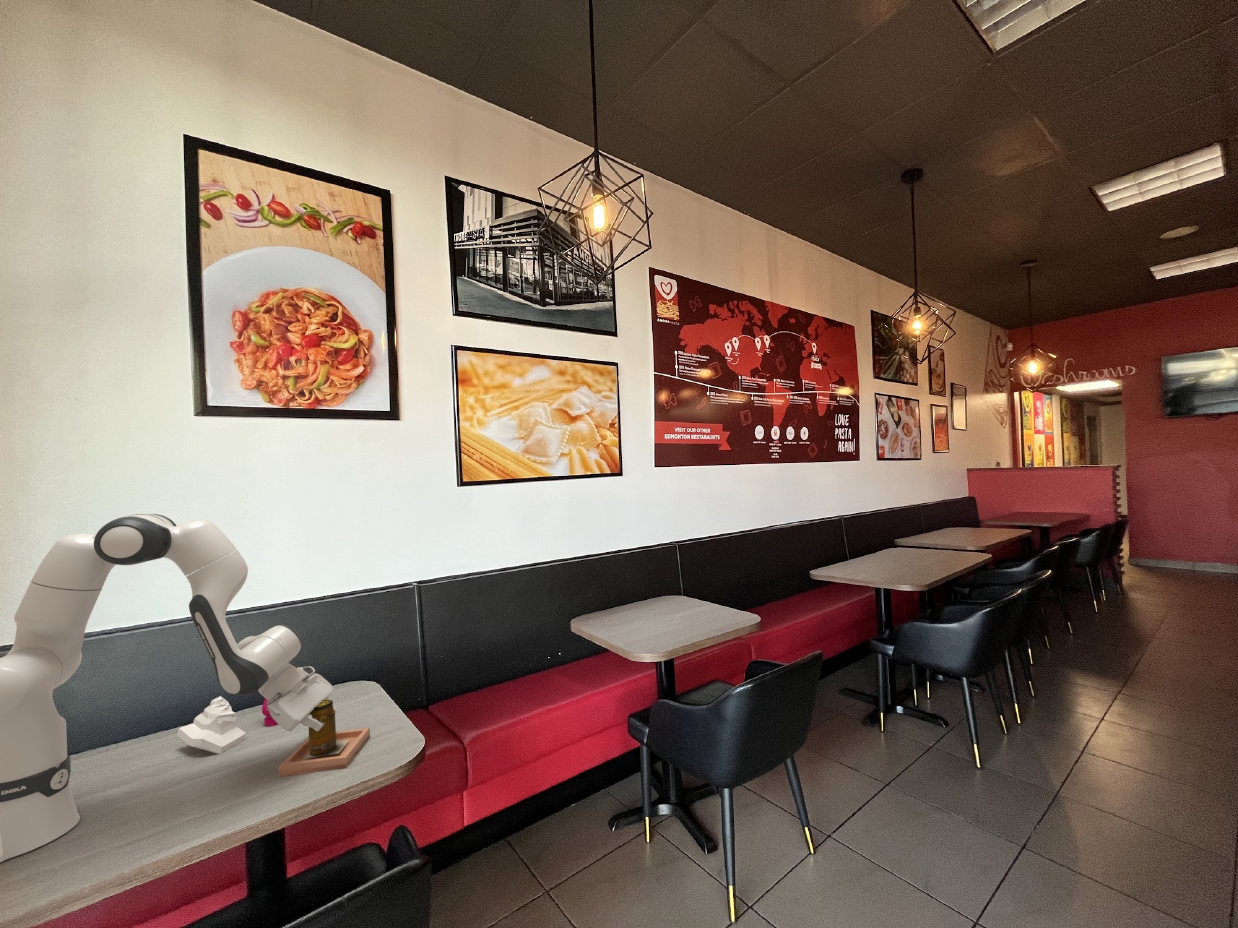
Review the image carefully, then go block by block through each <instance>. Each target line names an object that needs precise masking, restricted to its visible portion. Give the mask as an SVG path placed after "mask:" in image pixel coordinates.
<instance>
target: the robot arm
mask: <svg viewBox="0 0 1238 928" xmlns="http://www.w3.org/2000/svg"><path fill="white" fill-rule="evenodd" d="M162 558H165V559H167V560H170V561H173V563H174V564H175V565H176V566H177V567H178V569H180V571H181V573H182V574H183V575H184V576H185V577H186V578H185V579H187V581H188V583H189V585H190V589H191V597H192V598H191V600H190V601H189V604H188V608H189V609H188V610H189V615H190V616H191V618H192V619H191V620H192V622H193V624H194V626H195V628H196V630H197V632H198V635H199V637H200V639H201V641H202V643H203V645H204V646H205V649H206V651H207V653H208V656H209V657H210V660H211V662H212V664H213V666H214V669H215V674H216V677H217V681H218V683H219V685H220V687H221V689H222V690H223V692H225V693H227V694H229V695H231V696H240V697H241V696H249V695H253V694H256V692H258V693H259V694H260V695H261V696H262V697H264V699H265V698H266V699H267V700H268V701H267V709H268V711H270V715H271V717H272V718H273V719H274V720H275V721H276V722H277V723H278V725H279V726H280V728H282V729H283V730H284V731H287V732H292V731H293V730H294V729H295V728H297V726H299V725H300V724H301V725H303V726H304V727H307V728H309V727H311V728H313V729H314V730H316V731H319V730H320V729H321V728H322V727H323V725H324V722H322V721H321V720H316V719H313V718H312V716H311V715H310V712H311V711H313V709H314V707H315V706H317V705H318V704H319V703H320V702H321V701H322V700H330V699H329V698H330V696H331V695H332V694H333V693H334V692H335V689H334V686H333V685H332V683H330V682H329V681H328V680H327V679H326V678H325V677H323V675H321V674H319V673H316V670H315V668H314V667H313V666H304V667H303V666H302V667H299V666H298V667H295V665H293V664H291V663H290V662H291V661H292V660H293V659H294V658H295V657H297V655H298V654H299V652H300V651H302V646H303V642H302V640H303V639H302V637H301V635H300V633H299V632H298V631H297V630H295V628H293V627H291V626H288V625H285V624H277V625H275V626H273V627H271V628H269V629H267V630H266V631H264V632H262V633H260V634H258V635H250V636H246V637H245V638H243V639H241V640H239V642H236V640H235V637H234V636H233V633H232V631H231V629H230V627H229V625H228V623H227V620H226V613H227V610H228V607H229V606H230V604H231V603H232V601H233V600H234V598H235V597H236V596H237V595H238V593H240V591H241V589H242V588H243V586H244V584H245V583H246V580H247V578H248V573H249V567H248V565H247V563H246V560H245V559H244V557H243V556H242V555H241V553H240V552H239V550H238V549H237V547H236V546H235V545H234V543H232V542H231V540H230V539H229V538H228V537H227V536H226V535H225V534H224V533H223V531H222V530H220V528H219V527H217V526H216V525H215V524H214V523H213V522H211V521H209V520H206V519H195V520H190V521H187V522H184V523H181V524H180V525H176V523H175V522H174V520H172V519H170V518H169V517H167V516H165V515H162V514H158V513H136V514H131V515H128V516H123V517H122V516H121V517H118V518H115V519H113V520H110V521H109V522H107V523H105V524H104V525H103V526H101V528H100V529H99V530H98V531H97V532H96V534H93V533H73V534H68V535H66V536H62V537H60V538H59V539H58V540H57V541H56V542H55V543H54V544H53V545H52V546H51V548H50V549H49V550H48V552H47V554H45V556H44V558H43V559H42V561H41V563H39V565H38V566H37V569H36V571H35V573H34V575H32V578H31V580H30V582H29V585H28V586H27V589H26V591H25V593H24V594H23V598H22V600H21V601H20V604H18V605H19V606H18V607H17V609H16V612H15V614H14V618H13V619H14V623H16V629H15V630H16V632H15V637H14V642H13V645H12V647H11V649H10V650H9V652H8V653H7V654H5V655H4V656H2V657H0V863H2V862H4V861H6V860H9V859H11V858H15V857H18V856H20V855H23V854H26V853H28V852H31V851H33V850H35V849H38V848H39V847H42V846H44V845H47V844H49V843H51V842H52V841H55V840H56V839H58V838H60V837H61V836H63V835H64V834H66V833H68V832H70V831H71V830H72V829H73V828H74V827H76V826H77V824H78V823H79V822H80V820H81V816H80V814H79V811H78V808H77V804H75V800H74V795H73V791H72V787H71V780H70V778H71V771H72V767H71V766H72V765H71V763H72V760H71V756H70V754H68V742H67V741H68V740H67V739H68V737H67V721H66V719H65V718H64V717H63V716H61V715H60V713H59V712H58V709H57V707H56V705H55V702H54V697H53V693H54V690H55V689H57V688H59V687H60V686H61V685H63V684H65V683H66V682H67V681H68V680H70V679H71V677H72V676H73V675H74V674H75V673H76V671H77V670H78V668H79V667H80V665H81V663H82V660H83V653H82V648H83V643H84V638H85V634H86V628H87V624H88V622H89V620H90V617H91V615H92V612H93V610H94V609H95V608H94V607H95V606H96V603H97V602H98V601H97V600H98V599H99V596H100V595H101V592H102V590H103V588H104V585H105V583H106V581H107V578H108V577H109V574H110V573H111V571H112V569H113V568H114V567H115V566H116V565H117V566H133V565H138V564H143V563H146V562H150V561H155V560H159V559H162ZM333 710H334V711H335V715H336V714H337V712H338V709H336V707H334V706H333Z"/></svg>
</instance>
